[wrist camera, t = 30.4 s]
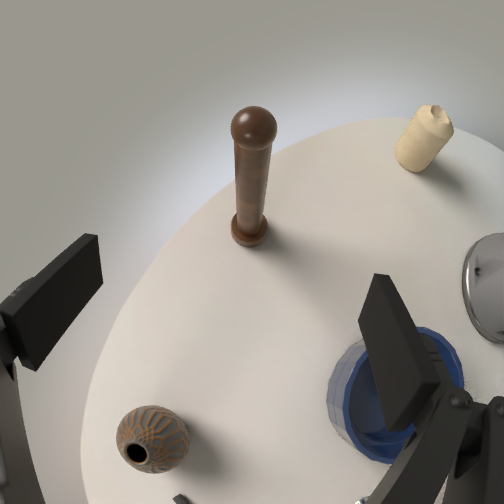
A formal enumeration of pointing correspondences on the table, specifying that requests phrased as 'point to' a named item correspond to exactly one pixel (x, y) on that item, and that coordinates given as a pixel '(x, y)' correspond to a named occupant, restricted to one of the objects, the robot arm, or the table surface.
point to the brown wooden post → (251, 172)
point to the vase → (152, 439)
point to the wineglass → (362, 500)
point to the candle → (423, 138)
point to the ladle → (180, 499)
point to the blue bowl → (373, 401)
